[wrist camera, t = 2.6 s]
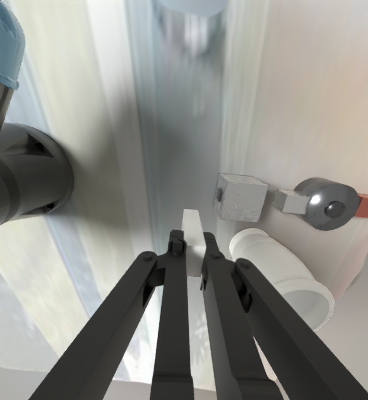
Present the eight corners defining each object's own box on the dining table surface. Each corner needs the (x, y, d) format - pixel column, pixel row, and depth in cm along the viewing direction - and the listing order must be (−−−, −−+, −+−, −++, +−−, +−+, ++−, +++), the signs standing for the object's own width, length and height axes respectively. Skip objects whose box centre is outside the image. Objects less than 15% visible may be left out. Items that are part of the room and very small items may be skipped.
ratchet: (264, 213, 33) (280, 228, 28) (276, 173, 30) (296, 180, 25) (369, 223, 34) (404, 238, 29) (390, 184, 31) (432, 194, 26)
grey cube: (211, 204, 32) (218, 219, 26) (217, 173, 30) (226, 181, 24) (244, 207, 32) (258, 222, 27) (252, 176, 30) (268, 185, 25)
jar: (240, 272, 38) (275, 352, 24) (213, 242, 35) (236, 313, 21) (283, 247, 36) (349, 318, 22) (258, 212, 33) (316, 269, 19)
